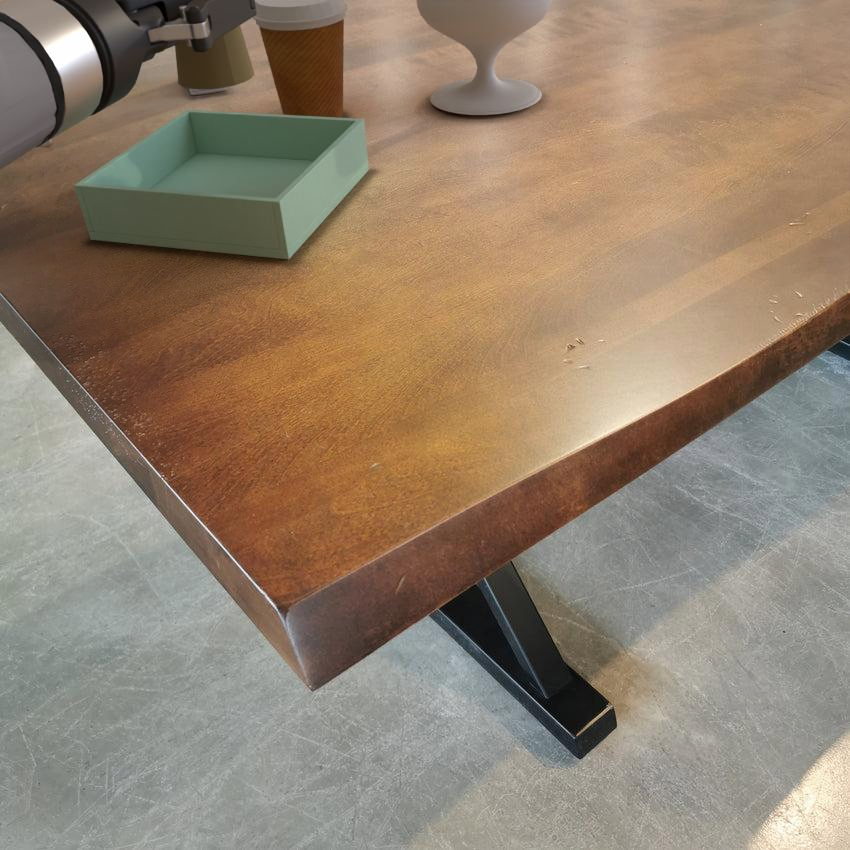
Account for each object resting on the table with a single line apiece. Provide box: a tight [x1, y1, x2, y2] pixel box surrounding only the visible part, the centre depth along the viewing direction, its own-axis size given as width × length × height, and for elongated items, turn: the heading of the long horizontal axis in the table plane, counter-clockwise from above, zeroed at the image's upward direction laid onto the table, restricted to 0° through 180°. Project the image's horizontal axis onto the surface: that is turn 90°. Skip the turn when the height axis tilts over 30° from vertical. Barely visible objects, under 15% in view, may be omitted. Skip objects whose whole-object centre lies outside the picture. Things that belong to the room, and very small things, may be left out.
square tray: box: [73, 109, 370, 260], centre depth 77 cm, size 18×18×5 cm
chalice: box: [416, 0, 553, 116], centre depth 92 cm, size 14×14×15 cm
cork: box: [174, 25, 255, 90], centre depth 67 cm, size 6×6×11 cm
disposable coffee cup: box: [252, 0, 348, 118], centre depth 91 cm, size 10×10×12 cm
